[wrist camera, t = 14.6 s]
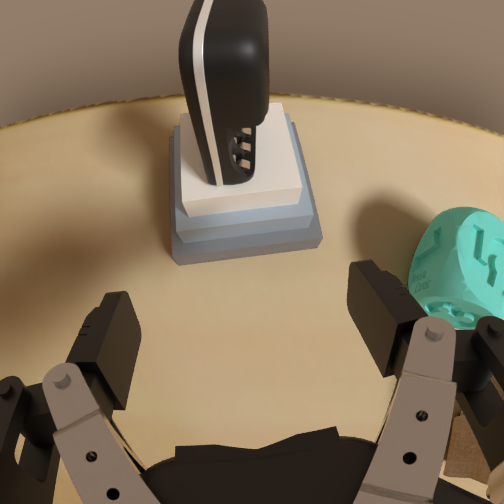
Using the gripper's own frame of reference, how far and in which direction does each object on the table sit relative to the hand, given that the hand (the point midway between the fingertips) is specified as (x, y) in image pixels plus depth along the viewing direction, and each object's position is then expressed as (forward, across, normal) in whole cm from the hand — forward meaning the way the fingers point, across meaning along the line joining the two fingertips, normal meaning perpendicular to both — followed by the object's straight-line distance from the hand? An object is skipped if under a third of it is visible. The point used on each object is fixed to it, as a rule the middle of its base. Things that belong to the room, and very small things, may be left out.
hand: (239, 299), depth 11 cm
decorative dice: (+11, -19, +10) cm, 24 cm away
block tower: (+19, -1, +2) cm, 19 cm away
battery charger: (+14, -1, -3) cm, 14 cm away
